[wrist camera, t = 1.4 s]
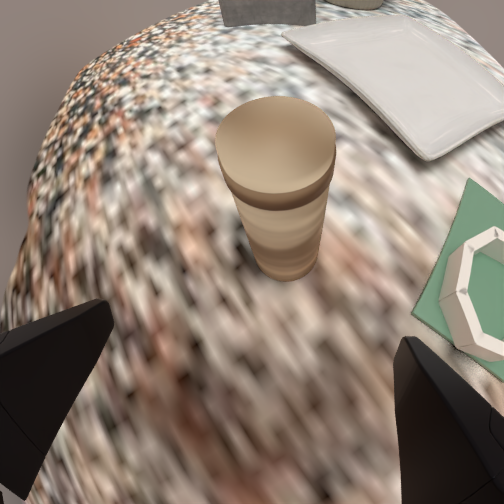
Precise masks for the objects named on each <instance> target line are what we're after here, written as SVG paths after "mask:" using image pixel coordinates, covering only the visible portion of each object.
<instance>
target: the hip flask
mask: <svg viewBox="0 0 504 504" xmlns="http://www.w3.org/2000/svg"><path fill="white" fill-rule="evenodd" d="M219 4H220V8H221V13H222V17H223V21H224V25H225V26H226V27H236V26H244V25H256V24H288V25H299V26H309V25H313V24H316V5H315V0H219Z"/></svg>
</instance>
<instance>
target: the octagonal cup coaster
mask: <svg viewBox="0 0 504 504" xmlns="http://www.w3.org/2000/svg"><path fill="white" fill-rule="evenodd" d="M411 314H412V315H413V316H414V317H416V318H417V319H419V320H420V321H421V322H423V323H424V324H426V325H427V326H428V327H430V328H431V329H433V330H434V331H435V332H437V333H438V334H439V335H441V336H442V337H444V338H445V339H446V340H448V341H449V342H450V343H452V344H453V345H454V346H455V347H457V348H456V349H459V350H461V351H463V352H464V353H465V354H467V355H468V356H469V357H470V358H472V359H473V360H474V361H476V362H477V363H478V364H480V365H481V366H482V367H484V368H485V369H486V370H488V371H489V372H490V373H491V374H493V375H494V376H495V377H497V378H498V379H499V380H500V381H502V382H504V204H503V203H502V202H500V201H499V200H498V199H497V198H496V197H494V196H493V195H492V194H491V193H489V192H488V191H487V190H485V189H484V188H483V187H481V186H480V185H479V184H477V183H476V182H475V181H473V180H472V179H471V178H468V180H467V183H466V186H465V189H464V192H463V195H462V198H461V201H460V204H459V207H458V210H457V213H456V216H455V218H454V221H453V224H452V226H451V229H450V231H449V234H448V236H447V239H446V241H445V244H444V246H443V248H442V251H441V253H440V255H439V258H438V260H437V262H436V264H435V267H434V269H433V271H432V273H431V275H430V277H429V279H428V281H427V283H426V285H425V288H424V290H423V292H422V294H421V295H420V297H419V299H418V301H417V303H416V305H415V307H414V309H413V311H412V313H411Z"/></svg>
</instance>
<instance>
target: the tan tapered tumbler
mask: <svg viewBox="0 0 504 504" xmlns="http://www.w3.org/2000/svg"><path fill="white" fill-rule="evenodd" d="M335 140H336V134H335V129H334V126H333V124H332V122H331V120H330V118H329V117H328V116H327V115H326V114H325V113H324V112H323V111H322V110H321V109H319V108H318V107H317V106H315V105H313V104H311V103H309V102H307V101H304V100H301V99H297V98H292V97H285V96H272V97H264V98H259V99H255V100H252V101H249V102H247V103H245V104H243V105H241V106H239V107H237V108H236V109H234V110H233V111H232V112H230V113H229V114H228V115H227V116H226V117H225V118H224V119H223V121H222V122H221V124H220V125H219V127H218V129H217V133H216V138H215V145H216V150H217V153H218V161H219V165H220V168H221V171H222V174H223V176H224V179H225V182H226V184H227V186H228V188H229V189H230V191H231V192H232V195H233V198H234V201H235V203H236V206H237V209H238V212H239V215H240V217H241V220H242V223H243V226H244V229H245V232H246V234H247V237H248V240H249V243H250V246H251V249H252V251H253V254H254V257H255V260H256V262H257V265H258V266H259V268H260V269H261V271H262V272H263V273H264V274H265V275H267V276H268V277H270V278H272V279H274V280H278V281H284V282H288V281H294V280H298V279H300V278H302V277H304V276H305V275H306V274H308V273H309V272H310V271H311V269H312V268H313V267H314V265H315V263H316V260H317V256H318V251H319V245H320V240H321V234H322V228H323V222H324V216H325V210H326V204H327V198H328V191H329V185H330V182H331V180H332V177H333V172H334V165H335V158H336V145H335Z"/></svg>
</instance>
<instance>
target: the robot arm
mask: <svg viewBox="0 0 504 504" xmlns="http://www.w3.org/2000/svg"><path fill="white" fill-rule="evenodd" d="M113 327H114V319H113V315H112V312H111V308H110V305H109V303H108V301H106V300H103V299H94V300H91V301H88V302H86V303H83V304H80V305H77V306H75V307H72V308H69V309H66V310H64V311H61V312H58V313H55V314H53V315H50V316H47V317H44V318H42V319H39V320H36V321H33V322H31V323H28V324H25V325H23V326H20V327H17V328H14V329H12V330H10V331H6V332H4V333H1V334H0V483H1V484H2V485H4V486H5V487H6V488H8V489H9V490H10V491H11V492H13V493H14V494H16V495H17V496H18V497H20V498H21V499H22V500H24V501H25V500H26V499H27V497H28V495H29V492H30V490H31V488H32V485H33V483H34V481H35V479H36V477H37V474H38V472H39V470H40V468H41V466H42V464H43V462H44V459H45V456H46V455H47V453H48V451H49V449H50V447H51V445H52V443H53V441H54V439H55V437H56V435H57V433H58V431H59V429H60V427H61V425H62V423H63V421H64V420H65V418H66V416H67V414H68V412H69V410H70V408H71V407H72V405H73V403H74V401H75V399H76V398H77V396H78V394H79V392H80V391H81V389H82V387H83V385H84V384H85V382H86V380H87V378H88V377H89V375H90V373H91V372H92V370H93V368H94V366H95V365H96V363H97V361H98V359H99V357H100V355H101V352H102V350H103V348H104V346H105V344H106V342H107V340H108V338H109V336H110V334H111V332H112V330H113ZM393 371H394V399H395V417H396V426H397V435H398V445H399V457H400V471H401V495H402V504H504V417H503V416H502V415H501V414H500V413H499V412H498V411H497V410H496V409H495V408H494V407H492V406H491V405H490V404H489V403H488V402H487V401H486V400H485V399H484V398H483V397H482V396H481V395H480V394H479V393H478V392H477V391H476V390H475V389H474V388H473V387H472V386H470V385H469V384H468V383H467V382H466V381H465V380H464V379H463V378H462V377H461V376H460V375H459V374H458V373H456V372H455V371H454V370H453V369H452V368H451V367H450V366H449V365H448V364H447V363H445V362H444V361H443V360H442V359H441V358H440V357H439V356H438V355H437V354H435V353H434V352H433V351H432V350H431V349H430V348H429V347H428V346H426V345H425V344H424V343H423V342H422V341H421V340H420V339H419V338H417V337H415V336H405V337H403V338H402V339H401V341H400V344H399V347H398V350H397V352H396V355H395V358H394V362H393ZM491 407H492V408H491ZM0 504H4V502H3V496H2V492H1V491H0Z"/></svg>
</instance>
